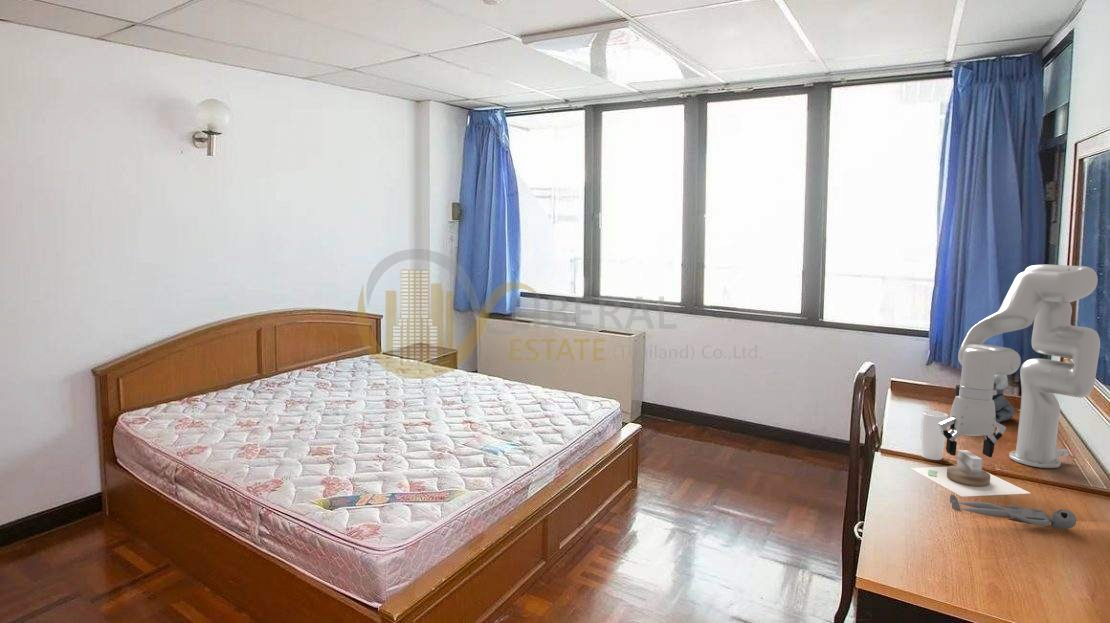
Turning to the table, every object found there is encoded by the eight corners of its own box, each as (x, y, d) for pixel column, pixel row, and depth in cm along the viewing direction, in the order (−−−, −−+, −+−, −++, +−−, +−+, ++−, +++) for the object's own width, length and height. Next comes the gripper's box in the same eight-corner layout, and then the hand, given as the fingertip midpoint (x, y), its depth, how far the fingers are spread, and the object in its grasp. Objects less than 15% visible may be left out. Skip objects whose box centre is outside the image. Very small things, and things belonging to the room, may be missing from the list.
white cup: (947, 466, 190) (952, 417, 188) (922, 464, 192) (927, 415, 190) (939, 458, 197) (943, 411, 195) (915, 456, 198) (919, 409, 196)
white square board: (972, 470, 187) (972, 464, 187) (1030, 498, 167) (1031, 492, 167) (909, 473, 185) (909, 467, 184) (961, 502, 165) (962, 495, 165)
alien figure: (949, 489, 163) (1071, 505, 152) (948, 507, 164) (1070, 524, 153) (953, 501, 156) (1081, 518, 145) (952, 520, 157) (1080, 538, 146)
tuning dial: (998, 486, 171) (1000, 461, 170) (959, 485, 171) (962, 460, 170) (967, 467, 185) (969, 444, 184) (931, 466, 185) (933, 443, 184)
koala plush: (949, 410, 251) (953, 361, 249) (999, 412, 249) (1004, 363, 246) (971, 423, 234) (976, 371, 232) (1025, 425, 232) (1030, 373, 229)
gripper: (999, 391, 176) (992, 451, 178) (935, 389, 177) (929, 448, 179) (1018, 398, 169) (1010, 461, 171) (950, 395, 169) (944, 458, 171)
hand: (969, 454), depth 175 cm, fingers open, 9 cm apart
